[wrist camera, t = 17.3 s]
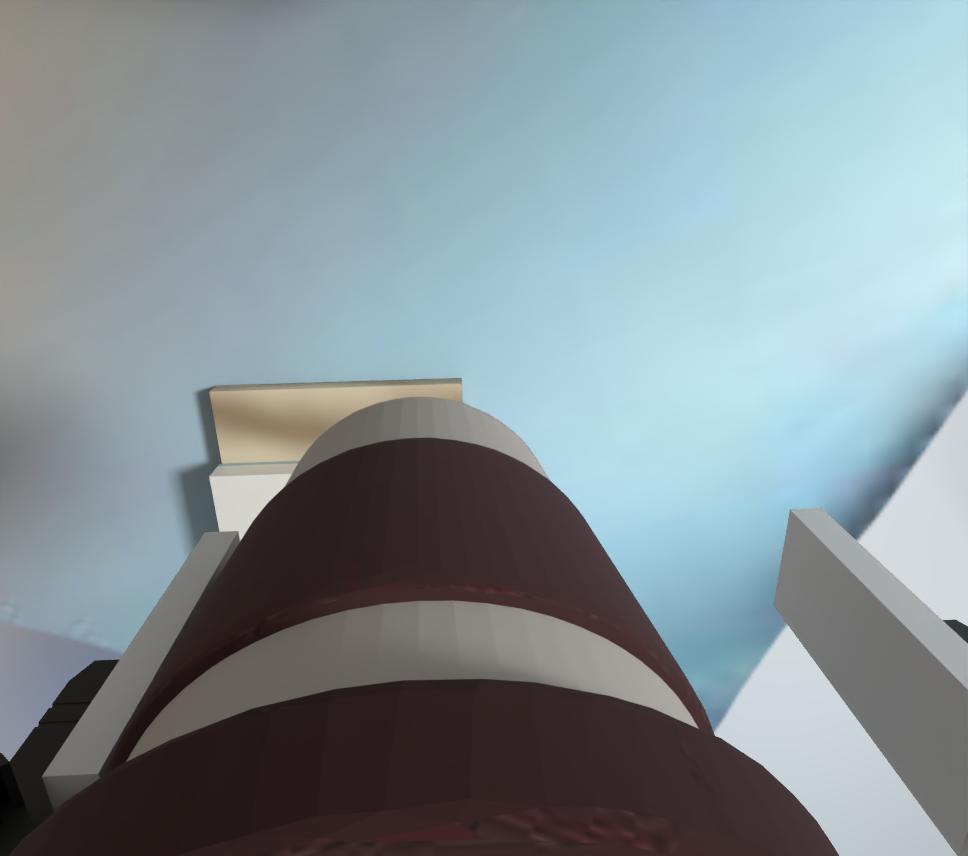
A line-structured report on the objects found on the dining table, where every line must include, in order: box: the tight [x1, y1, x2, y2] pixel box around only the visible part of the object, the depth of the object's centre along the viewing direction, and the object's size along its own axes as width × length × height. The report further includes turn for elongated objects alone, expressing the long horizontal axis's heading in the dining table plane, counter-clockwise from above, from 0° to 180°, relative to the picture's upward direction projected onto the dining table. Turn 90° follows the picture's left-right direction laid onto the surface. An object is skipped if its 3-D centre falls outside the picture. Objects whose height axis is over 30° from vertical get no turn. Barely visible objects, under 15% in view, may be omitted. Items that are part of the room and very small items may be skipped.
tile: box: [209, 461, 299, 541], centre depth 45 cm, size 10×2×10 cm
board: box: [209, 378, 462, 464], centre depth 46 cm, size 18×16×1 cm
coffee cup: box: [9, 397, 839, 856], centre depth 12 cm, size 10×10×15 cm
